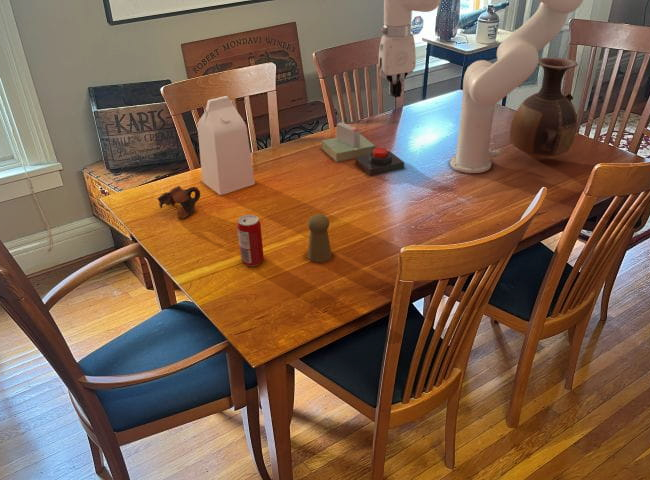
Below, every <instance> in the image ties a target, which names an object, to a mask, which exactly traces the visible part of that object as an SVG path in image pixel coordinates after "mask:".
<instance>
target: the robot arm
mask: <svg viewBox="0 0 650 480" xmlns="http://www.w3.org/2000/svg"><path fill="white" fill-rule="evenodd" d="M538 1H539V2H540V3H539V5H538V8H537V9H536V11H535V12H534V13H533V14H532V16H531V17H530V18H528V19H527V20H526V22H524V23H523V24H522V25H521V26H520V27H518V28H517V29H515V31H514V32H512V33H511V34H509V36H508V37H506V38H505V39H503V40H502V42H500V44H499V45H498V47H497V50H496V61H495V62H494V63H492V62H491V61H488V60H486V59H480V60H479V59H478V60H476V61H474V62H472V63H471V64H470V65H469V66H468V67H467V69H466V71H465V72H464V74H463V75H464V76H463V79H462V80H463V82H462V100H461V110H460V118H459V119H460V120H459V128H458V129H459V130H458V137H457V146H456V154H455V155H454V156H453V157H452V158H451V159H450V163H449V164H450V166H451V168H452V169H454V170H456V171H458V172H461V173H466V174H481V173H486V172H487V171H489V170H490V169H491V168H492V161H491V159H492V158H495V157H500V156H501V151H500V149H496V150H493V149H492V148H489V147H490V143H491V142H490V141H491V135H492V129H493V121H494V115H495V106H496V104H497V103H499V102H500V101H502V100H503V99H504V98H506V97H507V96H508V95H510V93H512V92H513V91H514V90H515V89H517V88H518V87H519V86H520V85H522V84H523V83H524V82H525V81H527V80H528V79H529V78H531V76H532V74H533V73H534V72H535V71H536V69H537V67H538V65H537V64H538V59H540V58H539V57H540V56H539V52H540V51H542V50H543V49H544V48H545V47H546V46H547V45H548V44H549V43H551V42H552V41H553V40H554V39H555V38H556V37H557V36H558V35H559V33H560V32H561V31H562V30H563V27H564V26H565V24H566V22H567V19H568V16H569V14H571V13H573V12H575V11H576V10H577V9H578V8H580V7H581V5H582V3H583V2H584V0H538ZM441 2H442V0H383V25H382V27H381V28H379V34H380V35H382V36H381V39H380V43H379V48H378V49H379V50H378V64H377V65H378V71H379V74H378V77H379V78H380V79H382V80H387V81H388V82H389V93H390V95H391V97H393V98H400V97H401V96H402V90H403V88H402V87H403V83H404V81H405V79H406V78H407V76H409V75H411V74H413V73H414V71H415V69H416V65H417V64H416V62H417V61H416V60H417V58H416V54H417V53H416V43H415V36H414V33H412V12H420V13H429V12H432V11H435V10H436V9H437V8H438V7H439V6H440V4H441Z"/></svg>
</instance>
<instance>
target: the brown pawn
mask: <svg viewBox="0 0 650 480" xmlns="http://www.w3.org/2000/svg"><path fill="white" fill-rule="evenodd" d="M329 227H330V220H329V218H328V217H327V216H326V215H324V214H320V213H319V214H313V215H311V216H310V217H309V218H308V221H307V228H308V229H309V239H308V250H307V258H308V260H309V261H311V262H314V263H325V262H328V261H330V260H331V259H332V250H331V243H330V238H329V232H328V229H329Z"/></svg>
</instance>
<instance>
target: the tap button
mask: <svg viewBox="0 0 650 480" xmlns="http://www.w3.org/2000/svg"><path fill="white" fill-rule="evenodd" d="M387 151H388V149H386V148H385V147H375V149H374V150H373V156H374V157H376V158H384V157H387Z"/></svg>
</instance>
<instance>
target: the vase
mask: <svg viewBox="0 0 650 480" xmlns="http://www.w3.org/2000/svg"><path fill="white" fill-rule="evenodd" d="M537 66H539V67H542V69H543V81H542V85H541V87H540V90H539V91H538V92H536V93H533V94H531V95H529V96H528V97H526V99H524V100H523V101H522V102H521V104H519V106H518V108H517V109H516V111H515V113H514V116H513V117H512V121H511V124H510V129H509V141H510V143H511V144H512V145H513V146H514V147H515V148H516V149H518V150H520V151H522V152H523V153H525V154H527V156H529V157H531V158H532V159H534V160H541V159H545V158H550V157H554V156H559V155H563V154H565V153H567V152H568V151H569V150H570V149H571V148H572V145H573V143H574V141H575V137H576V133H577V128H578V127H577V126H578V117H577V112H576V109H575V106H574V104H573V103H572V100H574V96H573V95H572V94H571V93H568V94H567V95H563V92H562V83H563V78H564V76H565V73H566V72H567V71H568V70H569V69H573V68H576V67H577V66H579V65H578V63H577V62H576V61H574V60H573V59H568V58H564V57H557V56H554V57H553V56H552V57H551V56H550V57H549V56H548V57H540V58H539V59H538V64H537Z"/></svg>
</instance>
